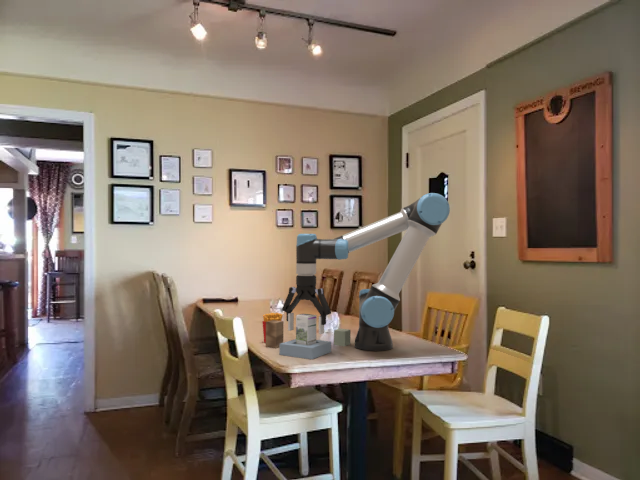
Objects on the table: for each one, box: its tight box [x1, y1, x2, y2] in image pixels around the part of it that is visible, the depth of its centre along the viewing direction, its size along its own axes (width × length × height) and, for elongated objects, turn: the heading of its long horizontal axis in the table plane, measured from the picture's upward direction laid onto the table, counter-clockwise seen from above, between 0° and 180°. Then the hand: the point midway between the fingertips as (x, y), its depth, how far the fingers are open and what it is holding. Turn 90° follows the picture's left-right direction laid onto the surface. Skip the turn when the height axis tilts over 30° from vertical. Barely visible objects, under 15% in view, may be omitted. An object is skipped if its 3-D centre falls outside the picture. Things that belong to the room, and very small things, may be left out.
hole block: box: [278, 338, 332, 360], centre depth 180 cm, size 14×14×4 cm
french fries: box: [261, 312, 284, 344], centre depth 201 cm, size 8×4×12 cm, turn 119°
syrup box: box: [295, 313, 317, 346], centre depth 180 cm, size 6×6×14 cm
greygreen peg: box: [333, 328, 352, 347], centre depth 197 cm, size 5×5×6 cm
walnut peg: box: [265, 320, 284, 349], centre depth 192 cm, size 5×5×10 cm
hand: (305, 332), depth 180 cm, fingers open, 13 cm apart
